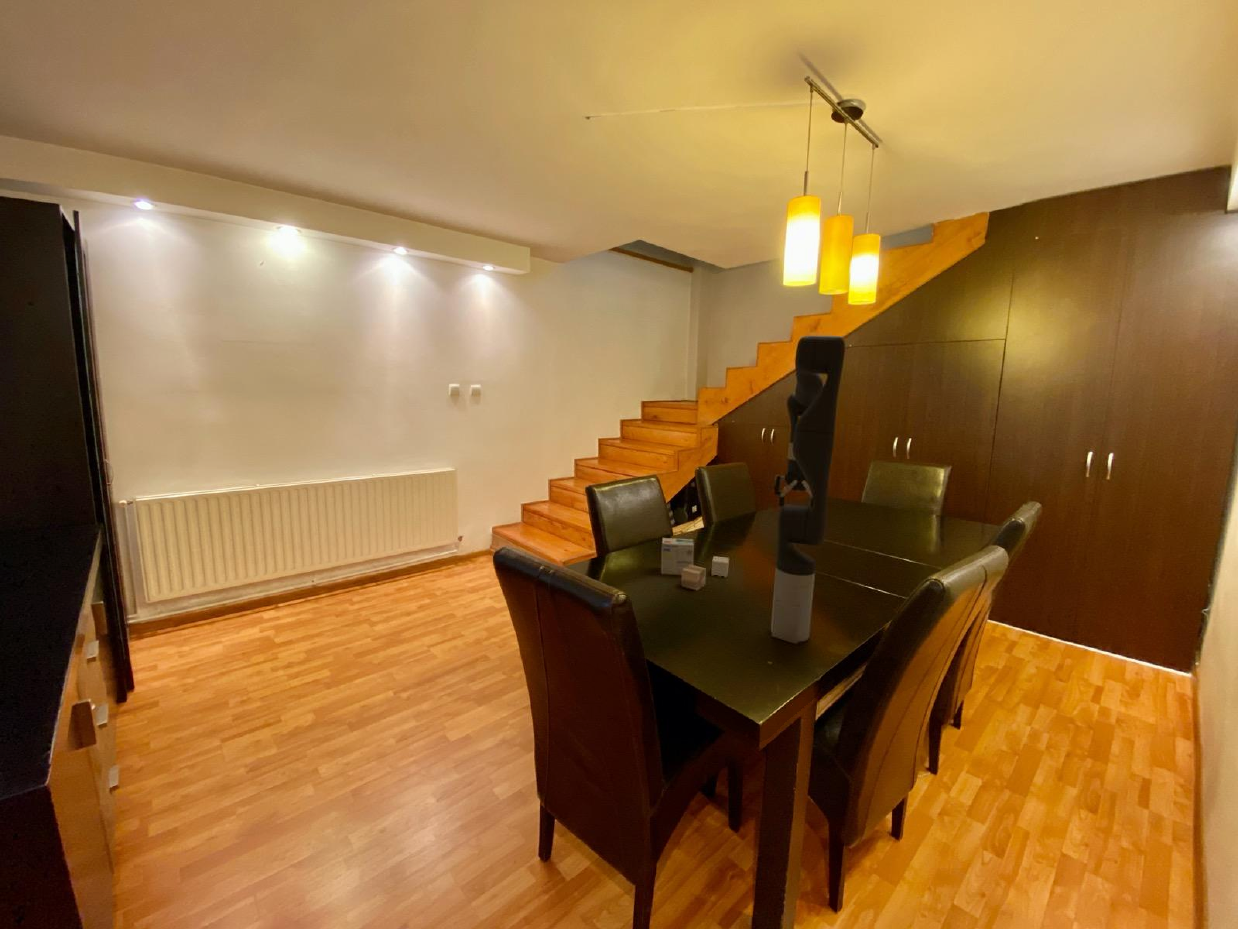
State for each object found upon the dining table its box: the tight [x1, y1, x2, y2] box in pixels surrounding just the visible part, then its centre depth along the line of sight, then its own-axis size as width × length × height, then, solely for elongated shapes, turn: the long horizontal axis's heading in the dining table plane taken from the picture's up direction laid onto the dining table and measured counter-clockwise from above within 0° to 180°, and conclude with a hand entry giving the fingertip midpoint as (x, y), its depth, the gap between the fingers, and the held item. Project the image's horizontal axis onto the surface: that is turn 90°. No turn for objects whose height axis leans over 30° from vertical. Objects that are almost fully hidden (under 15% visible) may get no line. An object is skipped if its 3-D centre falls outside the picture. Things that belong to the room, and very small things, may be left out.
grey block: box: [711, 555, 730, 578], centre depth 166 cm, size 5×5×5 cm
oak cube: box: [680, 564, 707, 591], centre depth 155 cm, size 6×6×6 cm
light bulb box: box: [660, 537, 695, 576], centre depth 166 cm, size 11×7×11 cm, turn 84°
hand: (796, 509), depth 156 cm, fingers open, 8 cm apart
